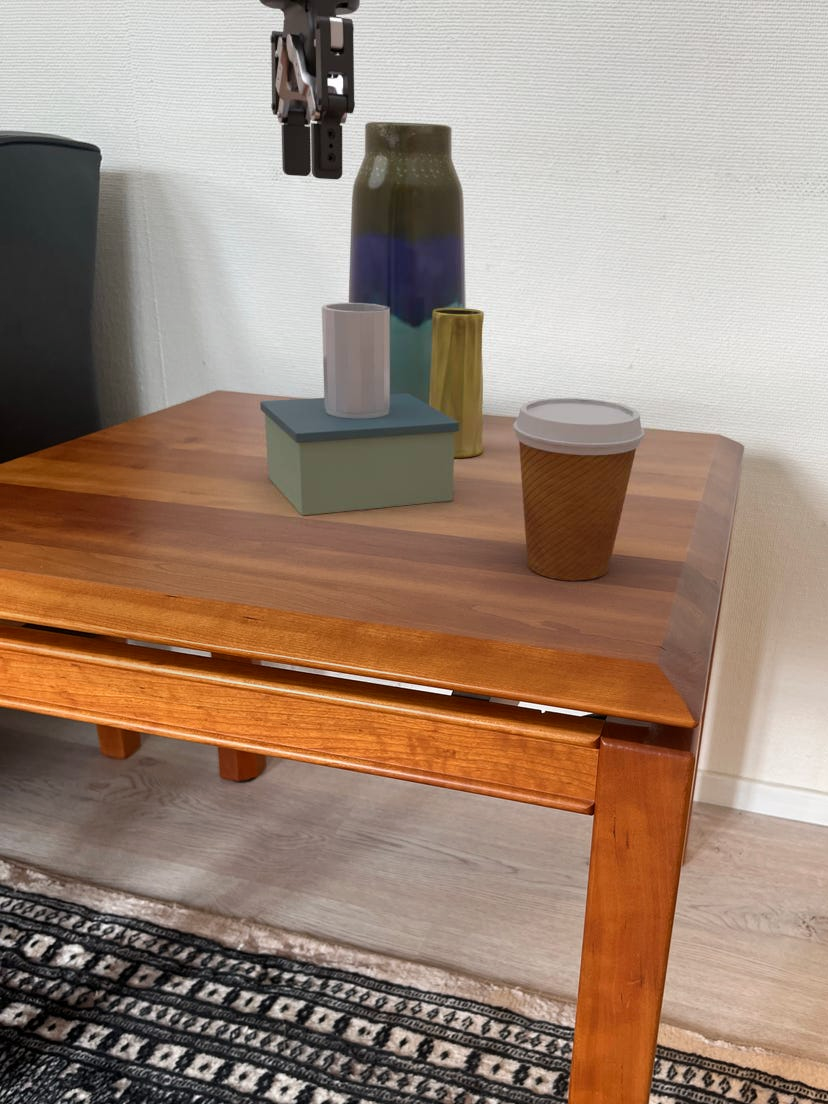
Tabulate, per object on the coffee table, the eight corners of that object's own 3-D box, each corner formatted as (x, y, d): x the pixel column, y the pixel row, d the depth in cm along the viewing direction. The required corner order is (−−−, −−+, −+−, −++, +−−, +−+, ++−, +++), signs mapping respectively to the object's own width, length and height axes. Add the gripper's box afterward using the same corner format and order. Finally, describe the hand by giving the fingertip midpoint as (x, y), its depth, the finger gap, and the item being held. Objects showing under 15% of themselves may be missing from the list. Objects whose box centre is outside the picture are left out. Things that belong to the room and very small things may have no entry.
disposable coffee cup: (627, 595, 74) (644, 430, 69) (497, 582, 75) (504, 420, 70) (632, 551, 82) (648, 401, 77) (515, 540, 84) (523, 392, 78)
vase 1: (437, 434, 115) (443, 122, 101) (327, 419, 119) (319, 119, 106) (481, 410, 126) (491, 128, 113) (380, 397, 131) (378, 125, 117)
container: (299, 517, 87) (296, 433, 84) (264, 477, 97) (260, 401, 94) (457, 501, 92) (459, 422, 89) (407, 465, 103) (408, 393, 100)
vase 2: (438, 460, 105) (441, 316, 99) (417, 445, 110) (418, 307, 104) (492, 456, 107) (498, 314, 101) (469, 441, 112) (473, 306, 106)
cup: (336, 420, 88) (333, 312, 84) (317, 406, 93) (314, 303, 89) (399, 416, 90) (399, 311, 87) (377, 402, 95) (377, 302, 91)
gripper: (234, -59, 78) (243, 172, 85) (282, -95, 67) (288, 177, 73) (329, -46, 81) (330, 177, 88) (390, -77, 70) (386, 182, 76)
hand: (311, 177), depth 81 cm, fingers open, 8 cm apart
